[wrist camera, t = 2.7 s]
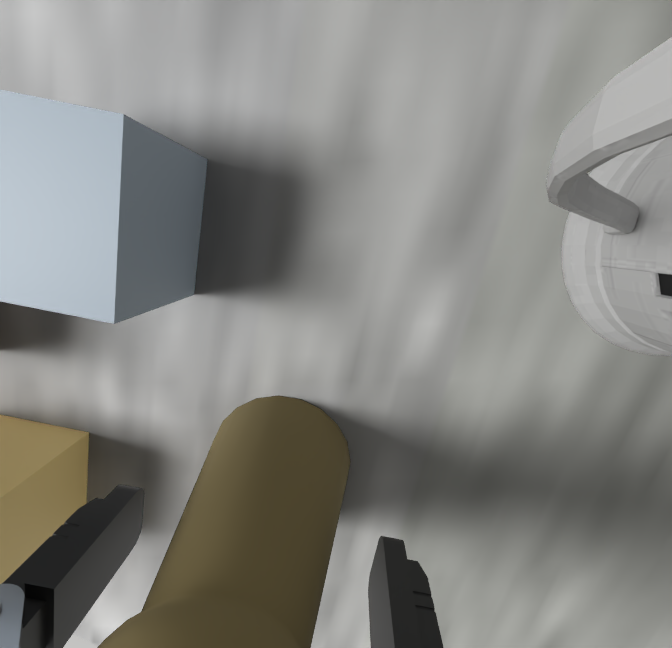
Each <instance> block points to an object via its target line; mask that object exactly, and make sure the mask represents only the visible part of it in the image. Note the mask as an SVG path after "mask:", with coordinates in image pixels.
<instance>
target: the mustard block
mask: <svg viewBox="0 0 672 648" xmlns="http://www.w3.org/2000/svg"><path fill="white" fill-rule="evenodd" d="M88 450H89V432H85V431H80V430H75V429H70V428H65V427H60V426H55V425H50V424H45V423H40V422H35V421H30V420H25V419H20V418H15V417H10V416H5V415H0V584H2V583H3V582H4V581H5V580H6V579H7V578H8V577H9V576H10V575H11V574H12V573H13V572H14V571H15V570H16V569H17V568H18V567H20V566H21V565H22V564H23V563H24V562H25V561H26V560H27V559H28V558H29V557H30V556H31V555H32V554H33V553H34V552H35V551H36V550H37V549H38V548H39V547H40V546H41V545H42V544H43V543H44V542H45V541H46V540H47V539H48V538H49V537H50V536H52V535H53V533H54V532H55V531H56V530H57V529H58V528H59V527H60V526H61V525H64V523H65V521H66V520H67V519H68V518H69V517H70V516H71V515H72V514H73V513H74V512H75V511H76V510H77V509H78V508H80V507H82V506H83V505H85V504H87V477H88Z"/></svg>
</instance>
